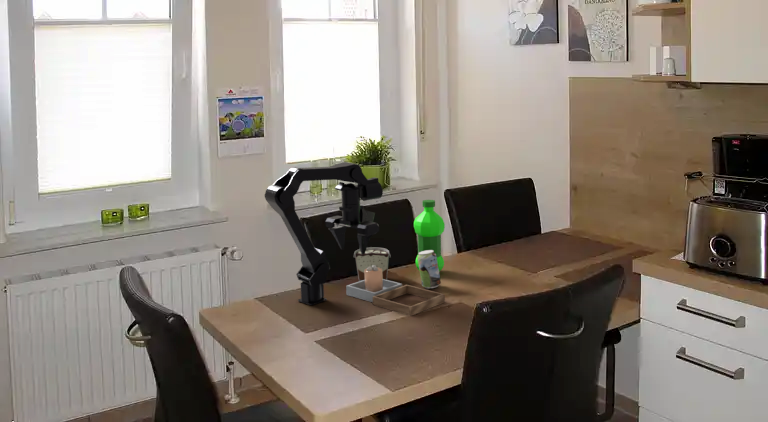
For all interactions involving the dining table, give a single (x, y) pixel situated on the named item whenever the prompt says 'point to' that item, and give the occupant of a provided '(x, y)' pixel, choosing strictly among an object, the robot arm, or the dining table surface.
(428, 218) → the plastic bottle
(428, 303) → the brown wooden tray
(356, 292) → the tray
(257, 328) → the dining table surface
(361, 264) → the food container
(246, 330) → the dining table surface
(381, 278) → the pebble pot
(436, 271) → the beverage can
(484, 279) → the dining table surface
